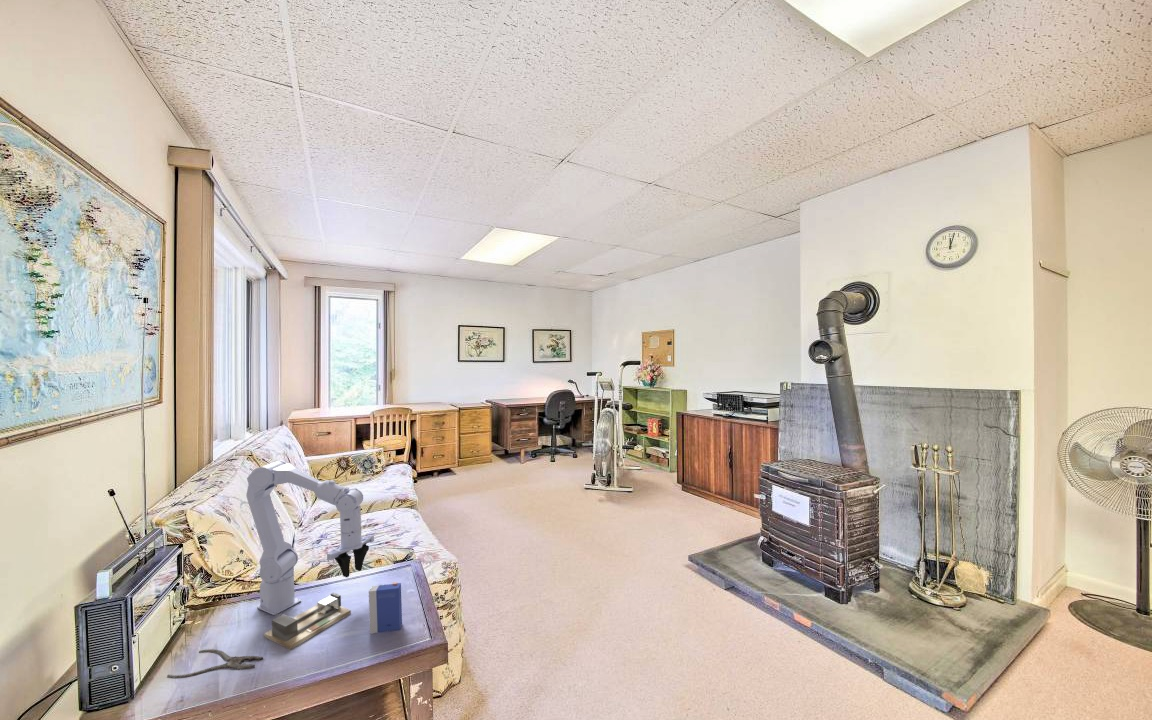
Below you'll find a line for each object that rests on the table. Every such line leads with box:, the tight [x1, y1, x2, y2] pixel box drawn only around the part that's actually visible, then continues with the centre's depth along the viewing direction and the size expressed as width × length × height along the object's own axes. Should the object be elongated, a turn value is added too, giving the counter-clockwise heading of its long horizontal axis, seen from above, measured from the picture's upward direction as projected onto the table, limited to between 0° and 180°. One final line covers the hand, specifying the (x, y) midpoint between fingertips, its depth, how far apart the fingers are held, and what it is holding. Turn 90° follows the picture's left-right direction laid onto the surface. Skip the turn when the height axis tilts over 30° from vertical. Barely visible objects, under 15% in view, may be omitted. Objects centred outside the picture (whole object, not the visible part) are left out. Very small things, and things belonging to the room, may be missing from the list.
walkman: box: [368, 582, 403, 634], centre depth 117 cm, size 8×3×12 cm, turn 99°
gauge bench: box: [264, 604, 352, 650], centre depth 120 cm, size 17×12×5 cm
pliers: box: [166, 648, 264, 679], centre depth 107 cm, size 10×1×20 cm
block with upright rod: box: [316, 592, 342, 615], centre depth 124 cm, size 5×7×3 cm
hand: (352, 573), depth 132 cm, fingers open, 4 cm apart
